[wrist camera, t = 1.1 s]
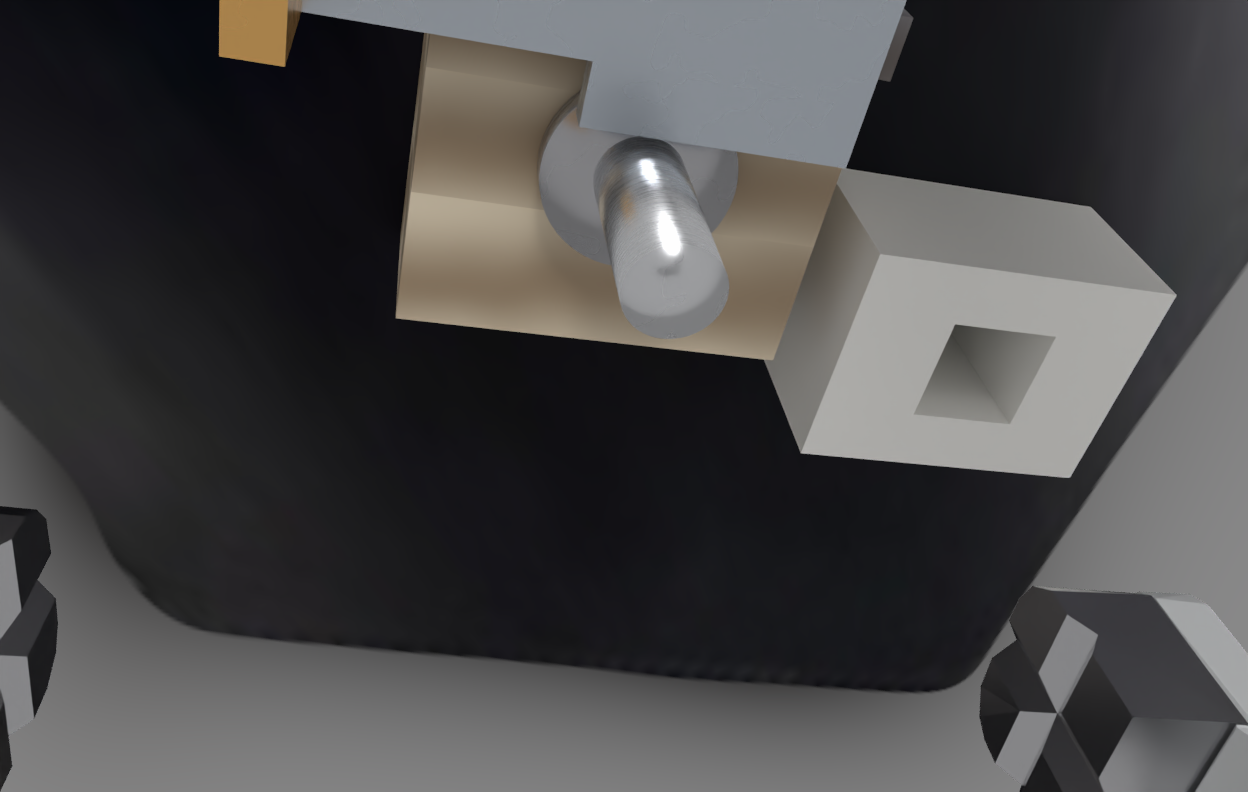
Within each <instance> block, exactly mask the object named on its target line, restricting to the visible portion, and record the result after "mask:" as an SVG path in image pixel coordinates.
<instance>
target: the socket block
mask: <svg viewBox="0 0 1248 792" xmlns="http://www.w3.org/2000/svg"><path fill="white" fill-rule="evenodd" d="M912 21H913V17H912V16H911V15H910V14H909V13H908V12H907V11H906V10H905V9H903V12H902V14H901V17H900V20H899V23H898V25H897V28H896V31H895V34H894V36H893V39H892V42H891V45H890V48H889V50H888V53H887V56H886V59H885V61H884V64H883V67H882V70H881V72H880V75H879V78H878V79H879V80H884V81H890V80H891V78H892V75H893V72H894V70H895V67H896V64H897V61H898V59H899V56H900V53H901V51H902V48H903V45H904V42H905V40H906V37H907V34H908V32H909V29H910V26H911V23H912ZM586 61H587V60H582V59H576V58H570V57H564V56H558V55H552V54H547V53H541V52H535V51H529V50H523V49H517V48H511V47H506V46H500V45H494V44H488V43H482V42H476V41H471V40H465V39H459V38H453V37H447V36H441V35H435V34H430V33H424V40H423V48H422V57H421V65H420V74H419V82H418V91H417V99H416V108H415V116H414V125H413V133H412V142H411V150H410V158H409V167H408V175H407V184H406V192H405V201H404V209H403V218H402V226H401V235H400V252H399V269H398V287H397V304H396V318H398V319H407V320H416V321H425V322H434V323H443V324H452V325H461V326H470V327H479V328H487V329H496V330H505V331H514V332H523V333H532V334H541V335H550V336H559V337H568V338H577V339H586V340H595V341H604V342H612V343H621V344H630V345H639V346H648V347H657V348H666V349H675V350H684V351H693V352H702V353H711V354H720V355H728V356H737V357H746V358H755V359H764V360H773V359H774V356H775V354H776V351H777V348H778V345H779V343H780V340H781V337H782V334H783V331H784V329H785V326H786V323H787V320H788V317H789V315H790V312H791V309H792V306H793V304H794V301H795V298H796V295H797V292H798V290H799V287H800V284H801V281H802V278H803V276H804V273H805V270H806V267H807V264H808V262H809V259H810V256H811V253H812V251H813V248H814V245H815V242H816V239H817V237H818V234H819V231H820V228H821V225H822V223H823V220H824V217H825V214H826V211H827V209H828V206H829V203H830V200H831V198H832V195H833V192H834V189H835V186H836V184H837V181H838V178H839V175H840V172H841V170H842V168H838V167H832V166H826V165H819V164H813V163H806V162H800V161H794V160H787V159H781V158H775V157H768V156H762V155H755V154H749V153H743V152H737V156H738V170H739V171H738V182H737V187H736V191H735V195H734V198H733V200H732V203H731V206H730V207H729V209H728V211H727V213H726V215H725V217H724V218H723V220H722V221H721V223H720V224H719V225H718V227H717V228H716V229H715V230H714V231H713V232H712V233H711V234H712V237H713V239H714V242H715V244H716V247H717V249H718V252H719V254H720V257H721V260H722V262H723V265H724V267H725V270H726V272H727V275H728V279H729V294H728V299H727V301H726V304H725V306H724V308H723V310H722V312H721V313H720V314H719V316H718V317H717V318H716V319H715V320H714V321H713V322H712V323H711V324H710V325H708V326H707V327H706V328H704V329H703V330H701V331H699V332H697V333H695V334H692V335H690V336H686V337H683V338H677V339H661V338H655V337H652V336H648V335H646V334H644V333H642V332H640V331H639V330H637V329H636V328H635V327H633V326H632V325H631V324H630V323H629V321H628V320H627V319H626V317H625V315H624V313H623V311H622V308H621V304H620V300H619V296H618V292H617V287H616V283H615V279H614V274H613V270H612V266H611V265H607V264H603V263H600V262H597V261H594V260H592V259H590V258H588V257H586V256H584V255H582V254H580V253H579V252H577V251H576V250H574V249H573V248H572V247H570V246H569V245H568V244H567V243H566V242H565V241H564V240H563V239H562V238H561V237H560V236H559V235H558V234H557V233H556V231H555V230H554V228H553V227H552V225H551V224H550V222H549V220H548V218H547V216H546V214H545V211H544V208H543V205H542V201H541V195H540V189H539V183H538V176H537V161H538V153H539V149H540V145H541V141H542V138H543V136H544V133H545V131H546V129H547V127H548V125H549V123H550V122H551V120H552V118H553V117H554V115H555V114H556V113H557V112H558V110H559V109H560V108H561V107H562V106H563V105H564V104H565V103H566V102H567V101H568V100H569V99H570V98H571V97H572V96H573V95H575V94H576V93H577V92H578V91H580V90H581V86H582V81H583V76H584V71H585V66H586Z"/></svg>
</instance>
